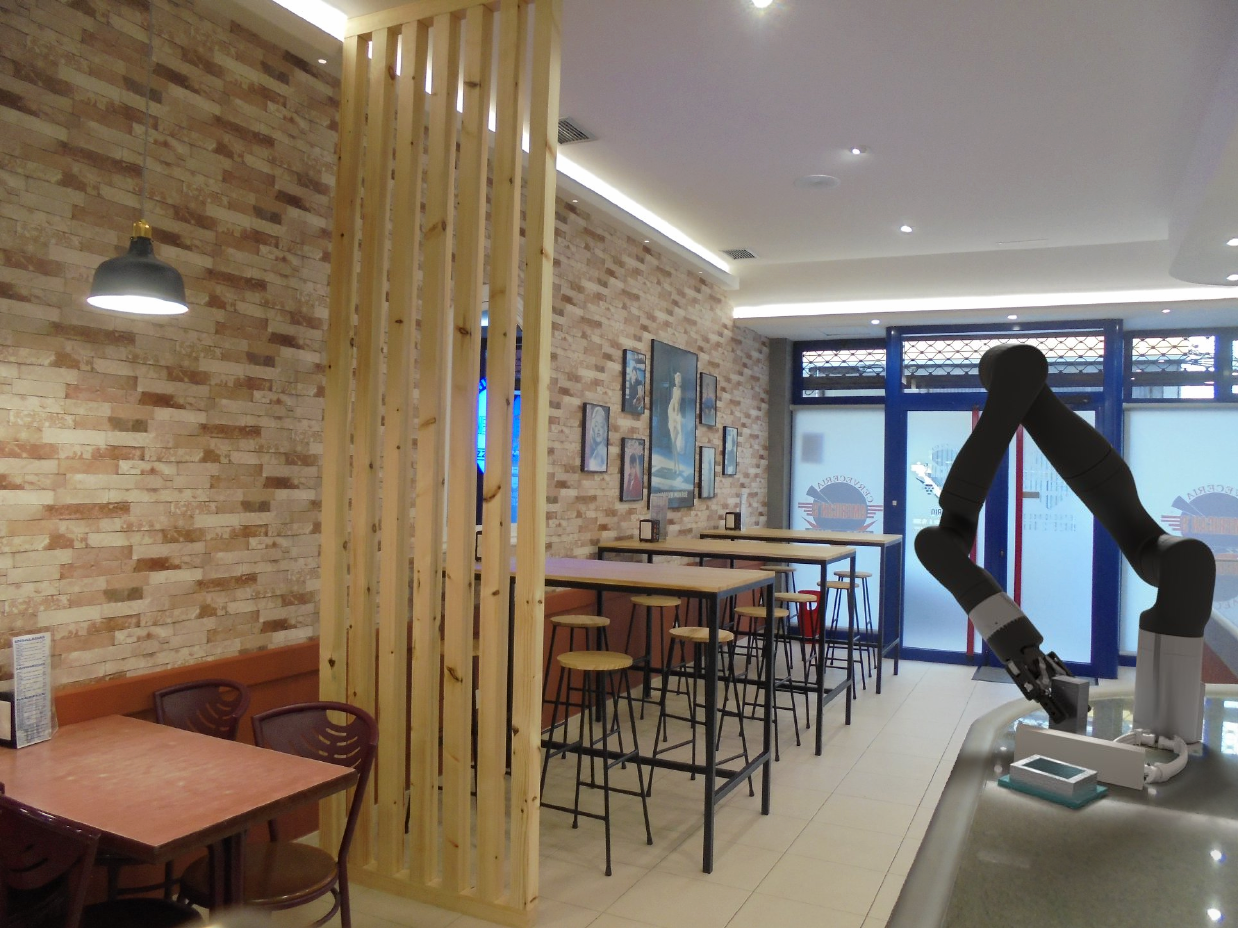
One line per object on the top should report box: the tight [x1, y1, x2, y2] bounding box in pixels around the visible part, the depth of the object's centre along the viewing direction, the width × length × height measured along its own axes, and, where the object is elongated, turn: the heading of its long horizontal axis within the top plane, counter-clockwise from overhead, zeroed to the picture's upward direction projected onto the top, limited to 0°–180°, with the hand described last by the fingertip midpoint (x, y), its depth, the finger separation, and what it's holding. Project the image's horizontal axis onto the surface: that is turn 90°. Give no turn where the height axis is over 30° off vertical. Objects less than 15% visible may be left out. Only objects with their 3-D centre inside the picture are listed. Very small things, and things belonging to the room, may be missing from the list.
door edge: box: [1013, 722, 1147, 791], centre depth 125 cm, size 16×3×5 cm, turn 57°
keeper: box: [997, 754, 1109, 811], centre depth 118 cm, size 10×10×3 cm
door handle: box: [1112, 729, 1189, 784], centre depth 134 cm, size 3×10×25 cm
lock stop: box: [1047, 675, 1091, 736], centre depth 135 cm, size 4×4×11 cm
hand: (1074, 717), depth 135 cm, fingers open, 8 cm apart
